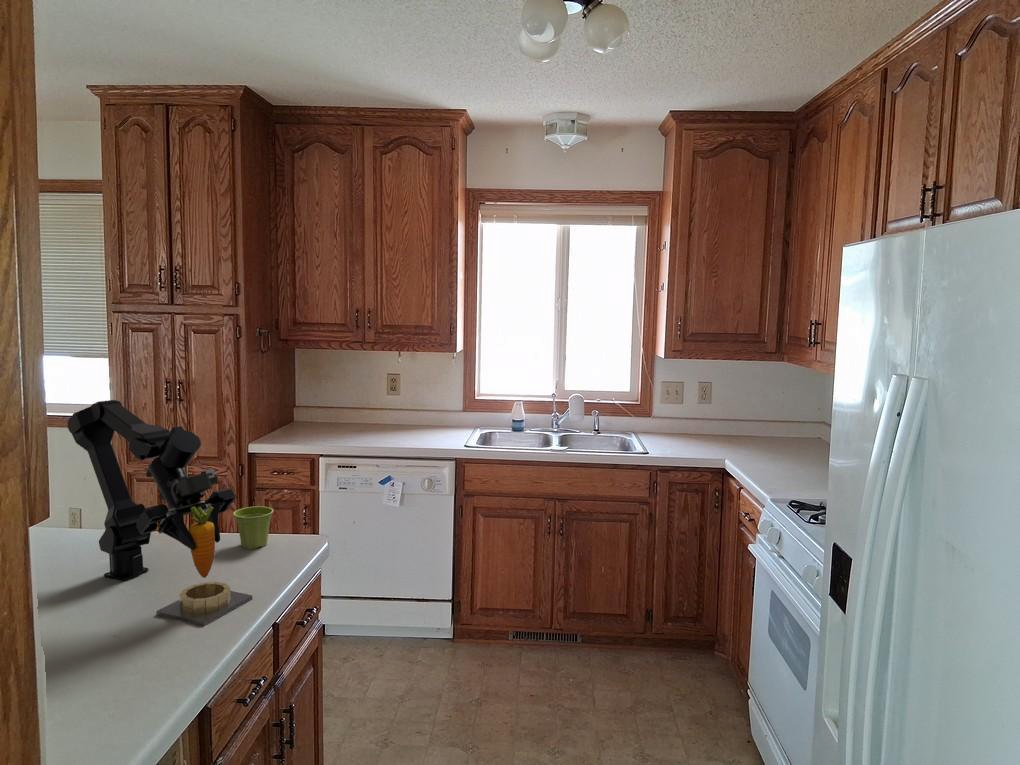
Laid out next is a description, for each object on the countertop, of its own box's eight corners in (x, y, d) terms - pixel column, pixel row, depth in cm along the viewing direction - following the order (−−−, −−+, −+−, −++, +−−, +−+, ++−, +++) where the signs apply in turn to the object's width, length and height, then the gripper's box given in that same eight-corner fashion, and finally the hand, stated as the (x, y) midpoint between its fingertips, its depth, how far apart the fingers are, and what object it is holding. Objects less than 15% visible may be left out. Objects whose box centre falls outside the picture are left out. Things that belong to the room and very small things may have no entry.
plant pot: (241, 538, 179) (240, 506, 178) (278, 538, 180) (277, 505, 179) (229, 551, 170) (228, 517, 169) (268, 551, 170) (267, 517, 169)
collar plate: (156, 614, 135) (155, 598, 135) (207, 589, 147) (206, 574, 147) (203, 626, 131) (203, 609, 131) (252, 599, 143) (251, 583, 143)
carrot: (221, 572, 141) (218, 501, 139) (212, 582, 136) (208, 509, 134) (196, 572, 141) (192, 501, 139) (186, 583, 136) (182, 509, 134)
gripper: (141, 467, 130) (177, 536, 125) (229, 450, 146) (264, 511, 141) (121, 500, 135) (155, 567, 131) (208, 480, 151) (241, 540, 146)
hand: (206, 545), depth 137 cm, fingers closed on carrot, 5 cm apart
